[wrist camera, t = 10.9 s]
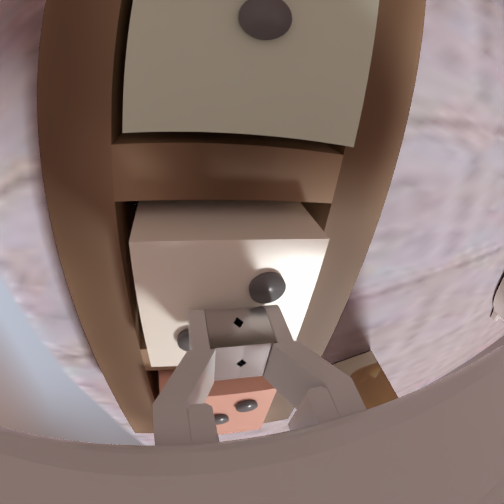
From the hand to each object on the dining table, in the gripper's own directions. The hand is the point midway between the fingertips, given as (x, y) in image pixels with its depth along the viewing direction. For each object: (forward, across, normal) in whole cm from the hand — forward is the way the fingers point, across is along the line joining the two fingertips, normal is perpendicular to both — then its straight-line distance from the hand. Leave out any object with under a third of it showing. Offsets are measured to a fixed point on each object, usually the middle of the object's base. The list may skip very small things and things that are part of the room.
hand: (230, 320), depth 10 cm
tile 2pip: (+5, 0, 0) cm, 5 cm away
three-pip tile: (+5, 0, +9) cm, 11 cm away
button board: (+6, 0, 0) cm, 6 cm away
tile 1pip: (+5, 0, -9) cm, 10 cm away
